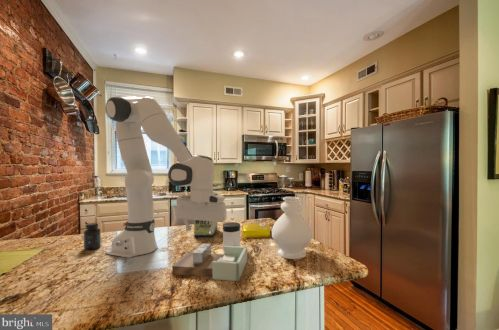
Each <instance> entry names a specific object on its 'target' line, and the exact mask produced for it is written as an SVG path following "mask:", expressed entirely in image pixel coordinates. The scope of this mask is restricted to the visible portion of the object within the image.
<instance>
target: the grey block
mask: <svg viewBox="0 0 499 330" xmlns="http://www.w3.org/2000/svg"><path fill="white" fill-rule="evenodd" d="M192 253H193V265H203V263H204V262H205V261H206V260H207V259H208V258H209V256H210V255H211V254H212V244H211V243H201V245H200V246H198V247H197V248H196V249H195V250H193V252H192Z"/></svg>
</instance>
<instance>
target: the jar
mask: <svg viewBox="0 0 499 330" xmlns="http://www.w3.org/2000/svg"><path fill="white" fill-rule="evenodd" d="M222 243H223V244H222V249H223V250H222V251H223V252H224V246H236V247H241V224H240V223H239V222H234V221H233V222H231V221H229V222H225V223H223V224H222Z"/></svg>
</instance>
